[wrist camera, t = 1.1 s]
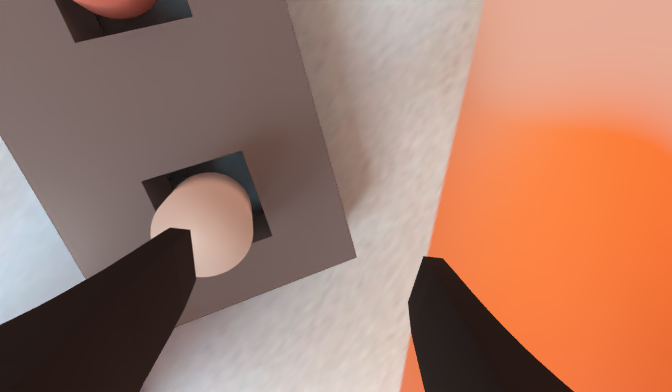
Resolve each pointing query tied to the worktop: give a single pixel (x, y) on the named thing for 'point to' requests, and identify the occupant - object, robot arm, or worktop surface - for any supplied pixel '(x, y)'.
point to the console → (170, 133)
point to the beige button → (209, 220)
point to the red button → (117, 7)
